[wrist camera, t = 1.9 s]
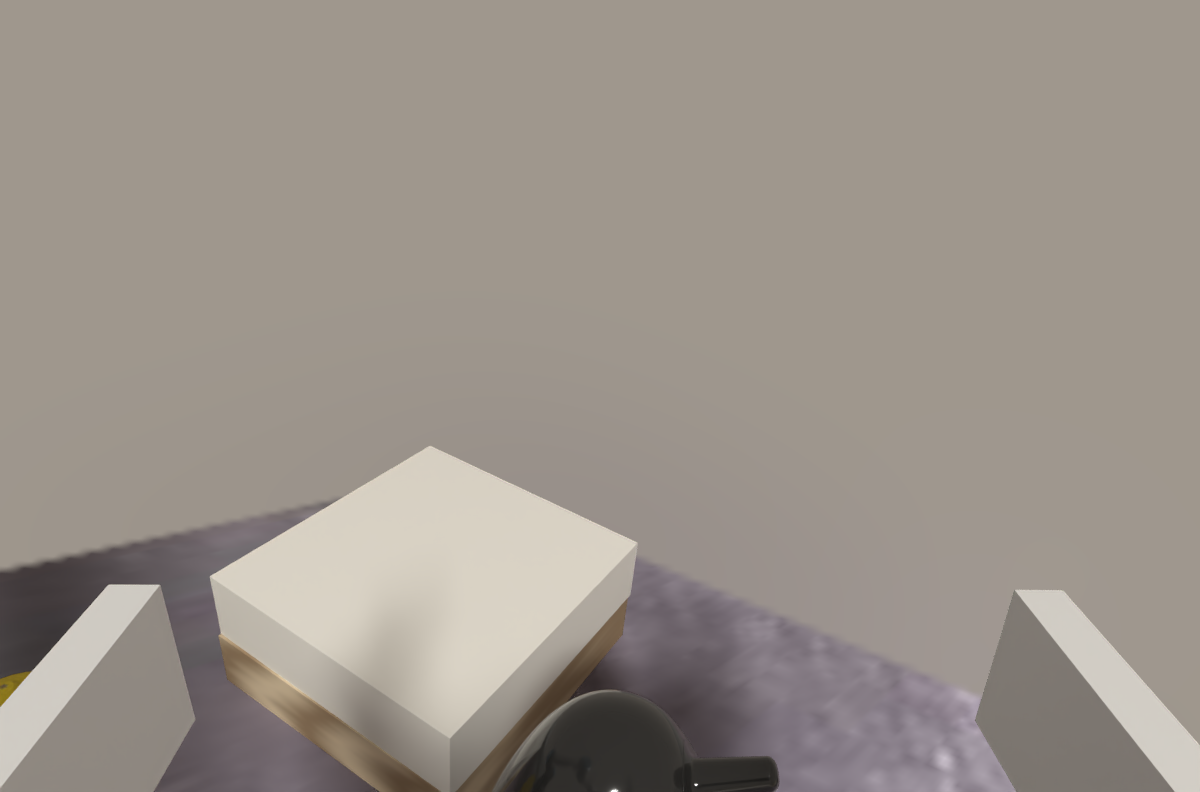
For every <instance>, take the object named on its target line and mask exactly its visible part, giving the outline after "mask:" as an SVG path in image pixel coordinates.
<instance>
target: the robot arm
mask: <svg viewBox="0 0 1200 792" xmlns="http://www.w3.org/2000/svg"><path fill="white" fill-rule="evenodd" d="M194 721H195V716H194V712H193V708H192V704H191V701H190V697H189V693H188V689H187V685H186V682H185V678H184V674H183V670H182V666H181V663H180V659H179V655H178V651H177V647H176V643H175V640H174V636H173V632H172V628H171V624H170V621H169V617H168V613H167V609H166V605H165V602H164V598H163V594H162V590H161V586H160V585H108V586H107V587H106V588H105V589H104V590H103V592H102V593H101V594H100V595H99V596H98V597H97V598H96V599H95V601H94V602H93V603H92V604H91V605H90V606H89V607H88V608H87V610H86V611H85V612H84V613H83V614H82V615H81V616H80V618H79V619H78V620H77V621H76V622H75V623H74V624H73V625H72V627H71V628H70V629H69V630H68V631H67V632H66V633H65V635H64V636H63V637H62V638H61V639H60V640H59V641H58V642H57V644H56V645H55V646H54V647H53V648H52V649H51V650H50V652H49V653H48V654H47V655H46V656H45V657H44V658H43V659H42V661H41V662H40V663H39V664H38V665H37V666H36V667H35V668H34V670H33V671H32V672H31V673H30V674H29V675H28V676H27V678H26V679H25V680H24V681H23V682H22V683H21V684H20V685H19V687H18V688H17V689H16V690H15V691H14V692H13V693H12V695H11V696H10V697H9V698H8V699H7V700H6V701H5V702H4V704H3V705H2V706H1V707H0V792H154V790H155V788H156V787H157V785H158V783H159V782H160V780H161V778H162V776H163V775H164V773H165V771H166V769H167V768H168V766H169V764H170V762H171V761H172V759H173V757H174V756H175V754H176V752H177V750H178V749H179V747H180V745H181V743H182V742H183V740H184V738H185V736H186V735H187V733H188V731H189V730H190V728H191V726H192V724H193V723H194ZM975 721H976V723H977V725H978V726H979V728H980V730H981V731H982V733H983V735H984V737H985V738H986V740H987V742H988V744H989V745H990V747H991V749H992V750H993V752H994V754H995V756H996V757H997V759H998V761H999V762H1000V764H1001V766H1002V768H1003V769H1004V771H1005V773H1006V774H1007V776H1008V778H1009V780H1010V781H1011V783H1012V785H1013V786H1014V788H1015V790H1016V792H1200V745H1199V744H1198V743H1197V742H1196V741H1195V740H1194V738H1193V737H1192V736H1191V735H1190V734H1189V733H1188V732H1187V730H1186V729H1185V728H1184V727H1183V726H1182V725H1181V724H1180V722H1179V721H1178V720H1177V719H1176V718H1175V717H1174V716H1173V715H1172V713H1171V712H1170V711H1169V710H1168V709H1167V708H1166V707H1165V705H1164V704H1163V703H1162V702H1161V701H1160V700H1159V699H1158V698H1157V697H1156V695H1155V694H1154V693H1153V692H1152V691H1151V690H1150V689H1149V687H1148V686H1147V685H1146V684H1145V683H1144V682H1143V681H1142V680H1141V678H1140V677H1139V676H1138V675H1137V674H1136V673H1135V671H1134V670H1133V669H1132V668H1131V667H1130V666H1129V665H1128V664H1127V663H1126V661H1125V660H1124V659H1123V658H1122V657H1121V656H1120V654H1118V652H1117V651H1116V650H1115V649H1114V648H1113V647H1112V645H1111V644H1110V643H1109V642H1108V641H1107V640H1106V639H1105V637H1104V636H1103V635H1102V634H1101V633H1100V632H1099V631H1098V630H1097V628H1096V627H1095V626H1094V625H1093V624H1092V623H1091V622H1090V621H1089V619H1088V618H1087V617H1086V616H1085V615H1084V614H1083V613H1082V611H1081V610H1080V609H1079V608H1078V607H1077V606H1076V605H1075V604H1074V602H1073V601H1072V600H1071V599H1070V598H1069V597H1068V596H1067V594H1065V592H1064V591H1063V590H1015V591H1014V593H1013V597H1012V600H1011V603H1010V607H1009V610H1008V614H1007V617H1006V620H1005V623H1004V626H1003V630H1002V633H1001V637H1000V640H999V643H998V646H997V650H996V653H995V656H994V660H993V663H992V666H991V670H990V673H989V676H988V679H987V682H986V686H985V689H984V692H983V696H982V699H981V702H980V706H979V709H978V712H977V715H976V719H975Z"/></svg>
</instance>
